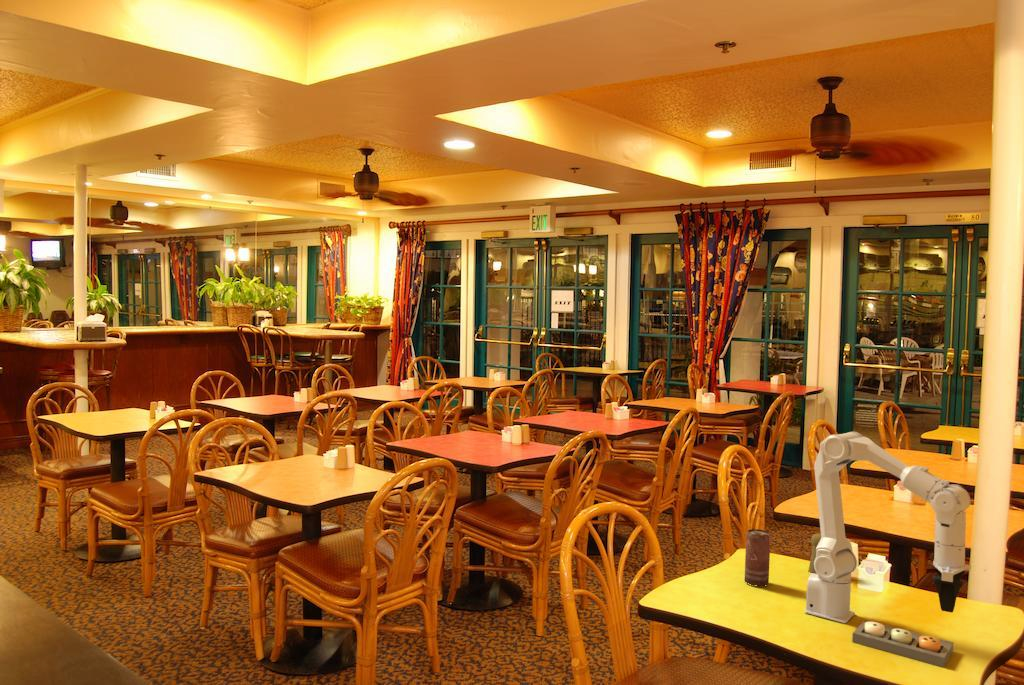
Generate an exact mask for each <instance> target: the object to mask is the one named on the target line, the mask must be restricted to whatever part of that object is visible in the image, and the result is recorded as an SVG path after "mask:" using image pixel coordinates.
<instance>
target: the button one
mask: <svg viewBox="0 0 1024 685" xmlns="http://www.w3.org/2000/svg"><path fill="white" fill-rule="evenodd" d="M882 624H883V623H881V624H880V622H877V621H873V622H866V623H865V632H864V633H866V634H869V635H873V636H877V637H880V638H883V637H884V632H885V626H884V625H882Z"/></svg>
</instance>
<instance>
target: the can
mask: <svg viewBox="0 0 1024 685" xmlns="http://www.w3.org/2000/svg"><path fill="white" fill-rule="evenodd" d="M771 542H772V541H771V535H770V532H769V531H767V530H764V529H757V528H754V529H753V528H752V529H748V530H747V532H746V534H745V554H744V555H745V557H744V558H745V559H744V560H745V561H744V582H745V583H746V582H747V583H749V584H751V585H757V586H765V585H767V586H768V585H769V580H770V578H769V577H770V560H771V559H770V556H771ZM765 587H766V586H765Z"/></svg>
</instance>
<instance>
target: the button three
mask: <svg viewBox="0 0 1024 685" xmlns="http://www.w3.org/2000/svg"><path fill="white" fill-rule="evenodd" d="M937 638H938V637H935V638H934V636H930V635H927V636H920V637H919V648H921V649H925V650H929V651H932V652H936V653H940V645H941V641H940V640H939V639H940V638H939V639H937Z"/></svg>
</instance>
